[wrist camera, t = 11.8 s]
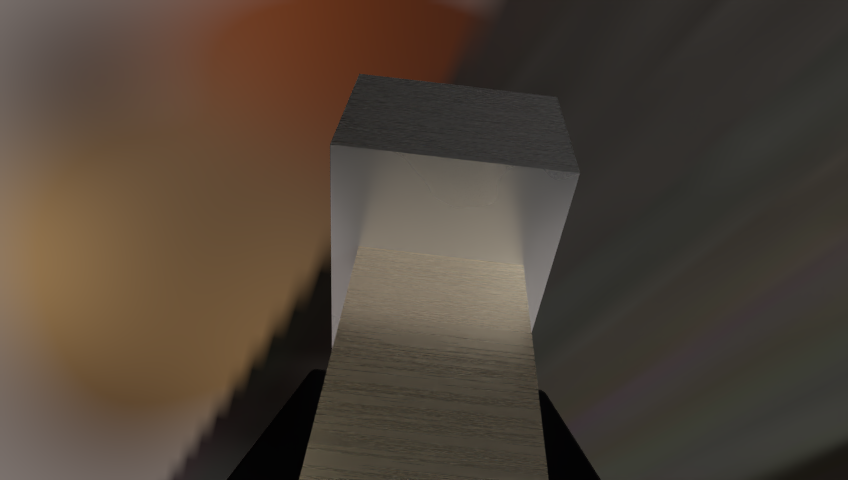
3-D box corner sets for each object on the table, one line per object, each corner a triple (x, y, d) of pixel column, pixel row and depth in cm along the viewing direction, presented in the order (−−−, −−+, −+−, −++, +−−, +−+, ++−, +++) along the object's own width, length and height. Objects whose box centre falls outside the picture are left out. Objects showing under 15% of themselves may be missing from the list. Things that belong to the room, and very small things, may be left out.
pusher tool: (557, 96, 11) (757, 761, 3) (497, 335, 16) (524, 876, 8) (359, 73, 11) (102, 690, 3) (353, 318, 16) (233, 844, 8)
